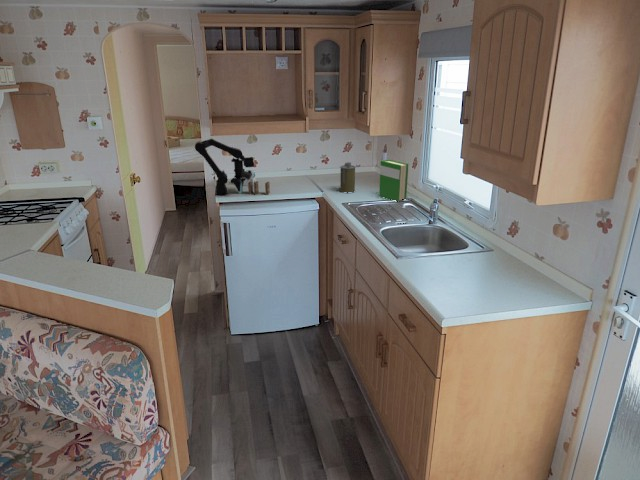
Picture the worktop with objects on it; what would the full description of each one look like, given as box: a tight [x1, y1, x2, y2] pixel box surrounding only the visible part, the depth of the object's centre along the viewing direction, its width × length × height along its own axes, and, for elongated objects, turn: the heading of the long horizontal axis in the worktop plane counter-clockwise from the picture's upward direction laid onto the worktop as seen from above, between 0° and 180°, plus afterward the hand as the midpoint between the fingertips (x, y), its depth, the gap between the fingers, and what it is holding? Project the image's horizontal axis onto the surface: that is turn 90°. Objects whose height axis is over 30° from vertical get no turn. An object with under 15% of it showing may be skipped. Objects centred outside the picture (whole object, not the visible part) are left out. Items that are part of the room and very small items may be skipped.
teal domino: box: [237, 181, 244, 195], centre depth 318 cm, size 2×5×8 cm, turn 171°
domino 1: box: [248, 181, 254, 195], centre depth 317 cm, size 2×5×8 cm, turn 171°
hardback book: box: [378, 159, 409, 202], centre depth 300 cm, size 18×7×24 cm, turn 36°
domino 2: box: [253, 181, 259, 195], centre depth 316 cm, size 2×5×8 cm, turn 171°
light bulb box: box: [243, 169, 256, 187], centre depth 339 cm, size 11×7×11 cm, turn 84°
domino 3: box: [264, 181, 271, 196], centre depth 315 cm, size 2×5×8 cm, turn 171°
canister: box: [339, 161, 356, 193], centre depth 317 cm, size 11×10×20 cm
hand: (240, 190), depth 318 cm, fingers closed on teal domino, 5 cm apart
